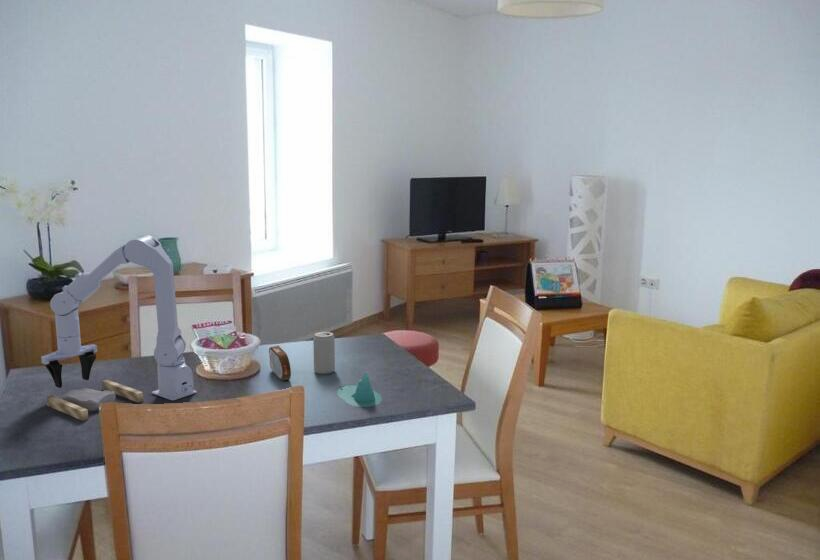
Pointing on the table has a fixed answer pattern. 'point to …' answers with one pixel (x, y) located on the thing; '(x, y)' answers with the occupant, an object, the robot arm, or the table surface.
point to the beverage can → (324, 352)
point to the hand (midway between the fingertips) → (72, 383)
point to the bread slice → (279, 363)
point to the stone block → (88, 398)
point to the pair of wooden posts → (82, 412)
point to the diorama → (360, 393)
